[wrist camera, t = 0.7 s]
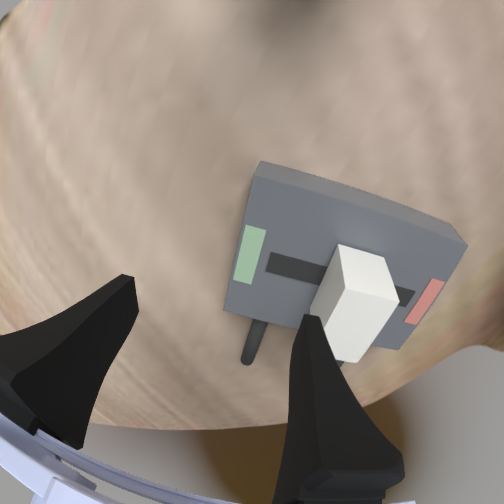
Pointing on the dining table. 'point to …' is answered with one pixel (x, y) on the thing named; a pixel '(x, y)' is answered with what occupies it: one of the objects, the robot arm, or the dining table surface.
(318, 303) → the breaker handle
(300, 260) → the breaker block
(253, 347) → the dressed cords
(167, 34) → the dining table surface
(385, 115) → the dining table surface
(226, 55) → the dining table surface
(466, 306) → the dining table surface
